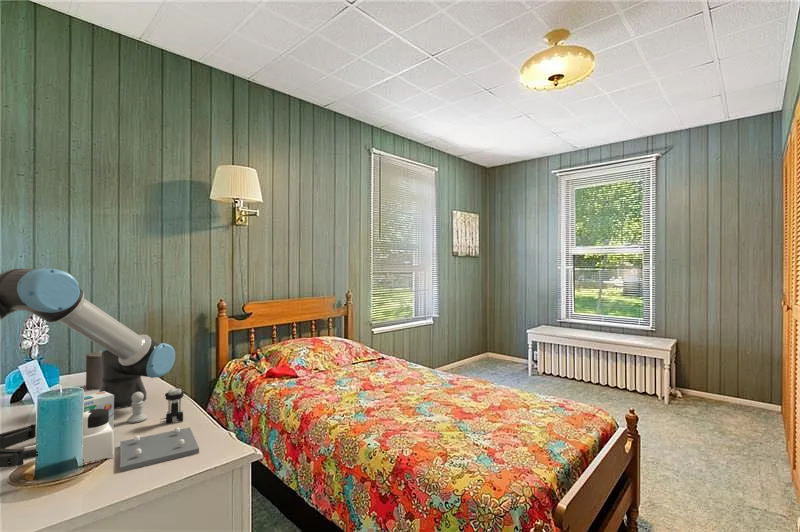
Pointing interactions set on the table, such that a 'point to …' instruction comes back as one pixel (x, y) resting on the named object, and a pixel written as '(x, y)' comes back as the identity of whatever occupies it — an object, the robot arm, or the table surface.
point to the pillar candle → (94, 370)
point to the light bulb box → (101, 404)
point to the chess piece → (137, 408)
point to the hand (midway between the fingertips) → (66, 436)
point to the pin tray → (157, 448)
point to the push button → (174, 405)
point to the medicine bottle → (97, 435)
